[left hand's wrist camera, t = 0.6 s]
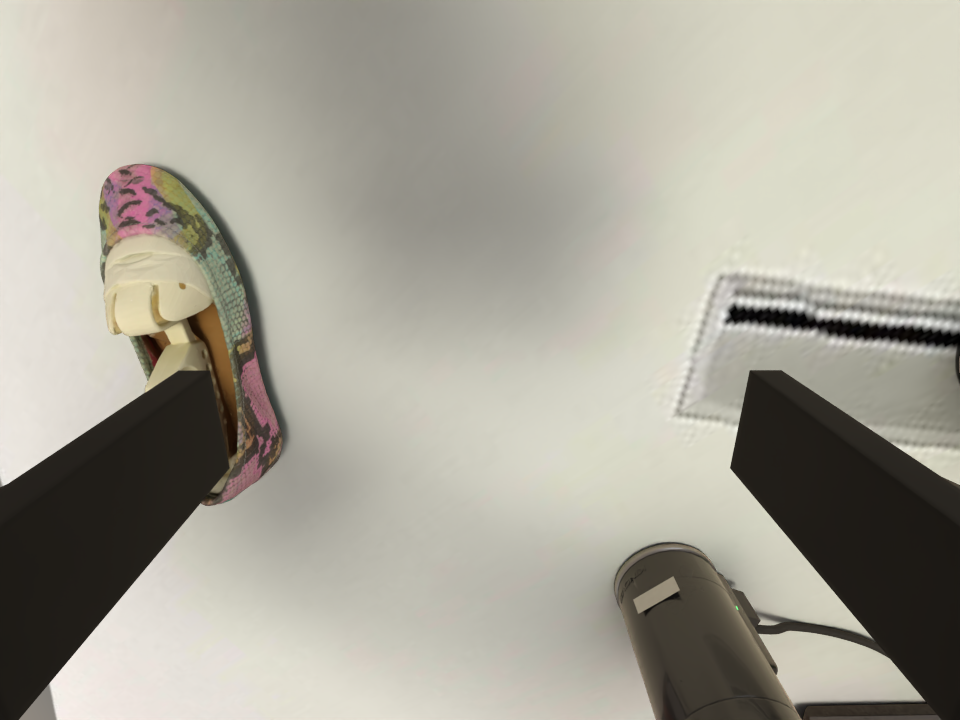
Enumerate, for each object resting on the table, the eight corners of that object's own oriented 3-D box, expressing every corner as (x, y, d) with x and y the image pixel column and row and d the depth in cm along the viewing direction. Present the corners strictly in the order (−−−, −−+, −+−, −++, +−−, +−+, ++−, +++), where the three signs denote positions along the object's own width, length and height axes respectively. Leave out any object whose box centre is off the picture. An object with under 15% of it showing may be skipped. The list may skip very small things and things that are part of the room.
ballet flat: (216, 153, 34) (135, 148, 26) (310, 459, 43) (270, 527, 35) (99, 172, 35) (-17, 173, 27) (215, 472, 43) (154, 541, 35)
